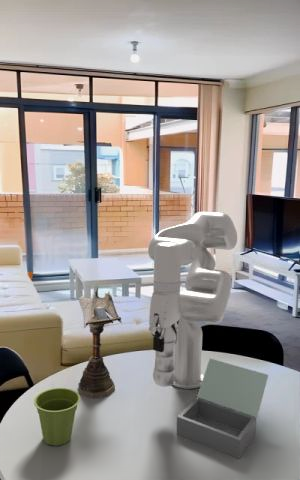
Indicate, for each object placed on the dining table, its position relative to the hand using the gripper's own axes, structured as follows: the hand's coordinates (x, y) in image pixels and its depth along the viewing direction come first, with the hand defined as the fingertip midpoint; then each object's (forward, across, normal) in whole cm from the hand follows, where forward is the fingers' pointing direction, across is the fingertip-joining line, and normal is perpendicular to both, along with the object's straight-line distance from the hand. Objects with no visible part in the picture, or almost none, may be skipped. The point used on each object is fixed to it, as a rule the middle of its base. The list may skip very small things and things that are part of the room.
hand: (164, 346), depth 120 cm
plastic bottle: (+12, 0, 0) cm, 12 cm away
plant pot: (+21, +26, -17) cm, 38 cm away
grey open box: (+21, 0, +17) cm, 27 cm away
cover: (+11, -10, +17) cm, 23 cm away
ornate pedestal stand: (+21, +1, -23) cm, 31 cm away
